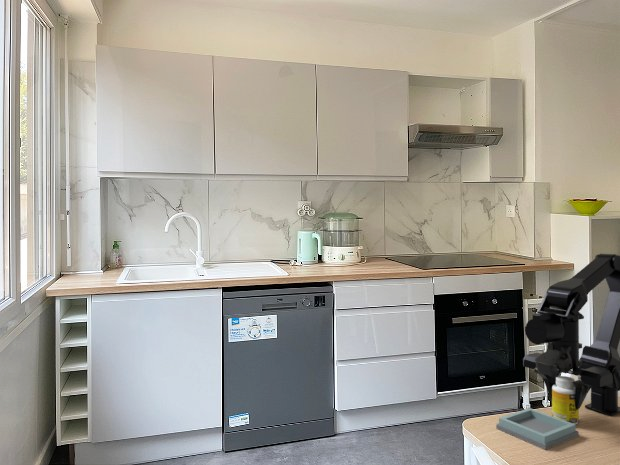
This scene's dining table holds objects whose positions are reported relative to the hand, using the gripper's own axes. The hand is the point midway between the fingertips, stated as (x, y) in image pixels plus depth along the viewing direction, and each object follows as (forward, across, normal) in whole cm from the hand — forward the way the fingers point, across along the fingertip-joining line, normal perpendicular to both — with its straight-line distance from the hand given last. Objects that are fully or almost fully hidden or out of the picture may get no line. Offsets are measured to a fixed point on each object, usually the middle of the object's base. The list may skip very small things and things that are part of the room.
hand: (565, 404), depth 111 cm
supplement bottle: (+4, 0, 0) cm, 4 cm away
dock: (+4, 0, -11) cm, 12 cm away
